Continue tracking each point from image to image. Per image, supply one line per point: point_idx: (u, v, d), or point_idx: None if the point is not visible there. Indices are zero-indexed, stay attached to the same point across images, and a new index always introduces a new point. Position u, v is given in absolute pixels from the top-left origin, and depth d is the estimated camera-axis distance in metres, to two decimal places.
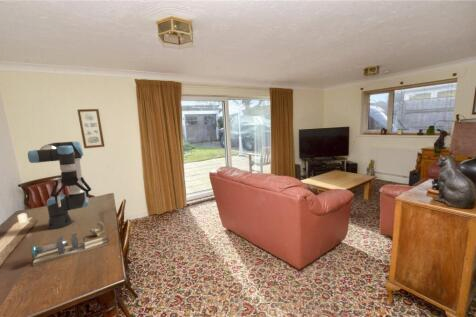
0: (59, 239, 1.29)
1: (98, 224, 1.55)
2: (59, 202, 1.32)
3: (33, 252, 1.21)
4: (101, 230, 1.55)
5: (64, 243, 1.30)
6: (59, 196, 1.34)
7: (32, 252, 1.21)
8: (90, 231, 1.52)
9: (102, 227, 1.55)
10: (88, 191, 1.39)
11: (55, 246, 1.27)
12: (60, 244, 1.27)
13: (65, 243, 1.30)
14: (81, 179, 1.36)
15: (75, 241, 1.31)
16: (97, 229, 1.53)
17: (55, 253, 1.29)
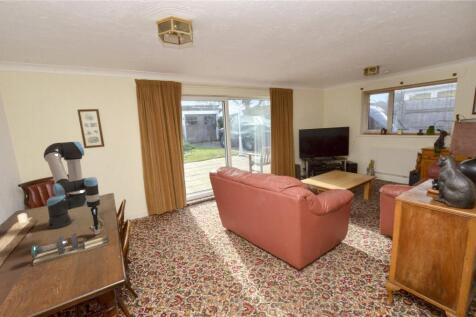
0: (59, 239, 1.29)
1: None
2: None
3: (33, 252, 1.21)
4: (100, 227, 1.55)
5: (64, 243, 1.30)
6: None
7: (32, 252, 1.21)
8: None
9: (101, 224, 1.55)
10: None
11: (55, 246, 1.27)
12: (60, 244, 1.27)
13: (65, 243, 1.30)
14: (92, 212, 1.46)
15: (75, 241, 1.31)
16: None
17: (55, 253, 1.29)
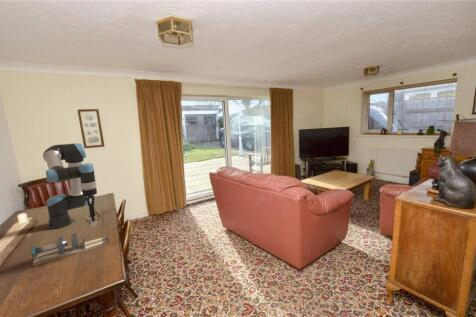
0: (59, 239, 1.29)
1: None
2: None
3: (33, 252, 1.21)
4: (98, 219, 1.40)
5: (64, 243, 1.30)
6: None
7: (32, 252, 1.21)
8: None
9: (99, 216, 1.41)
10: (91, 216, 1.33)
11: (55, 246, 1.27)
12: (60, 244, 1.27)
13: (65, 243, 1.30)
14: (88, 202, 1.31)
15: (75, 241, 1.31)
16: None
17: (55, 253, 1.29)
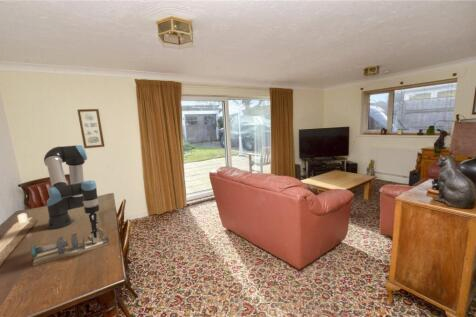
0: (59, 239, 1.29)
1: (97, 230, 1.42)
2: None
3: (33, 252, 1.21)
4: (100, 236, 1.42)
5: (64, 243, 1.30)
6: (96, 225, 1.44)
7: (32, 252, 1.21)
8: (88, 238, 1.39)
9: (101, 233, 1.43)
10: (93, 232, 1.32)
11: (55, 246, 1.27)
12: (60, 244, 1.27)
13: (65, 243, 1.30)
14: None
15: (75, 241, 1.31)
16: None
17: (55, 253, 1.29)
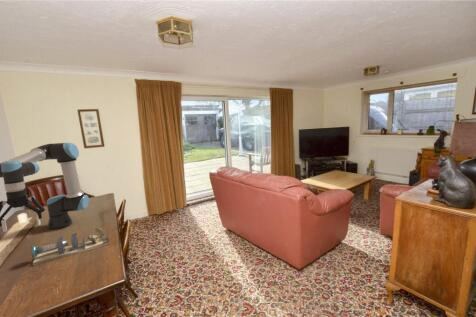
0: (59, 239, 1.29)
1: (97, 230, 1.42)
2: (4, 226, 1.15)
3: (33, 252, 1.21)
4: (100, 236, 1.42)
5: (64, 243, 1.30)
6: (4, 219, 1.16)
7: (32, 252, 1.21)
8: (88, 238, 1.39)
9: (101, 233, 1.43)
10: None
11: (55, 246, 1.27)
12: (60, 244, 1.27)
13: (65, 243, 1.30)
14: (32, 199, 1.20)
15: (75, 241, 1.31)
16: None
17: (55, 253, 1.29)
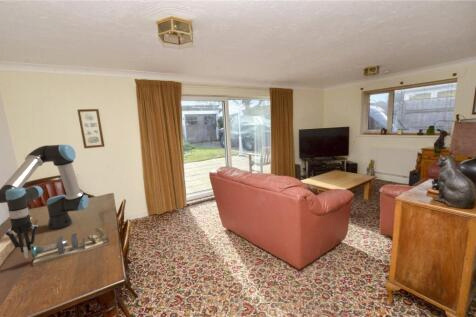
0: (59, 239, 1.29)
1: (97, 230, 1.42)
2: None
3: (34, 252, 1.21)
4: (100, 236, 1.42)
5: (64, 243, 1.30)
6: None
7: (32, 252, 1.21)
8: (88, 238, 1.39)
9: (101, 233, 1.42)
10: (30, 244, 1.22)
11: (55, 246, 1.27)
12: (60, 244, 1.27)
13: (65, 243, 1.30)
14: (34, 228, 1.22)
15: (75, 241, 1.31)
16: None
17: (55, 253, 1.29)
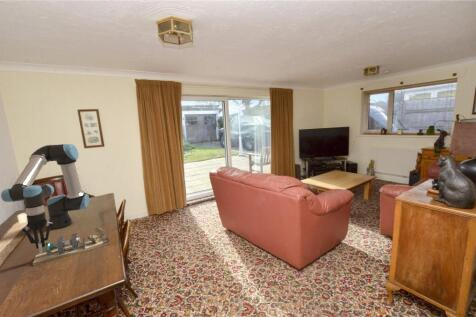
0: (59, 239, 1.29)
1: (97, 230, 1.42)
2: None
3: (48, 249, 1.24)
4: (100, 236, 1.42)
5: (77, 240, 1.33)
6: None
7: (47, 248, 1.24)
8: (88, 238, 1.39)
9: (101, 233, 1.42)
10: (44, 240, 1.25)
11: (68, 243, 1.31)
12: (60, 244, 1.27)
13: (78, 240, 1.33)
14: (49, 225, 1.25)
15: (75, 241, 1.31)
16: None
17: (55, 253, 1.29)
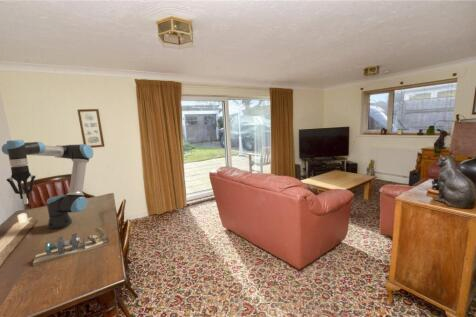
0: (59, 239, 1.29)
1: (97, 230, 1.42)
2: None
3: (48, 249, 1.24)
4: (100, 236, 1.42)
5: (77, 240, 1.33)
6: None
7: (46, 248, 1.24)
8: (88, 238, 1.39)
9: (101, 233, 1.42)
10: (28, 192, 1.34)
11: (68, 243, 1.31)
12: (60, 244, 1.27)
13: (77, 240, 1.33)
14: (32, 177, 1.34)
15: (75, 241, 1.31)
16: None
17: (55, 253, 1.29)
